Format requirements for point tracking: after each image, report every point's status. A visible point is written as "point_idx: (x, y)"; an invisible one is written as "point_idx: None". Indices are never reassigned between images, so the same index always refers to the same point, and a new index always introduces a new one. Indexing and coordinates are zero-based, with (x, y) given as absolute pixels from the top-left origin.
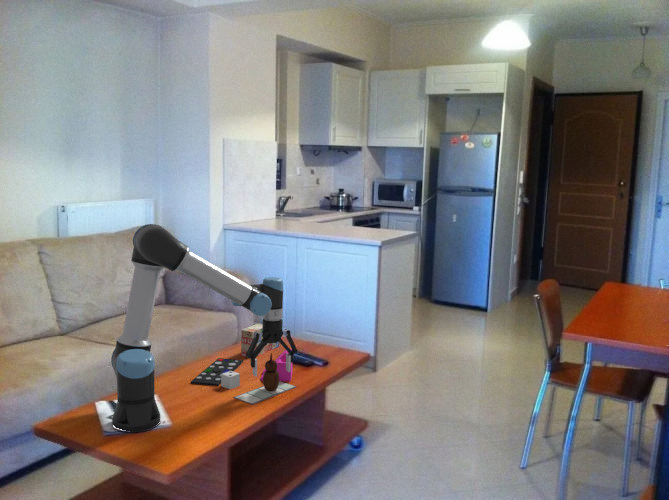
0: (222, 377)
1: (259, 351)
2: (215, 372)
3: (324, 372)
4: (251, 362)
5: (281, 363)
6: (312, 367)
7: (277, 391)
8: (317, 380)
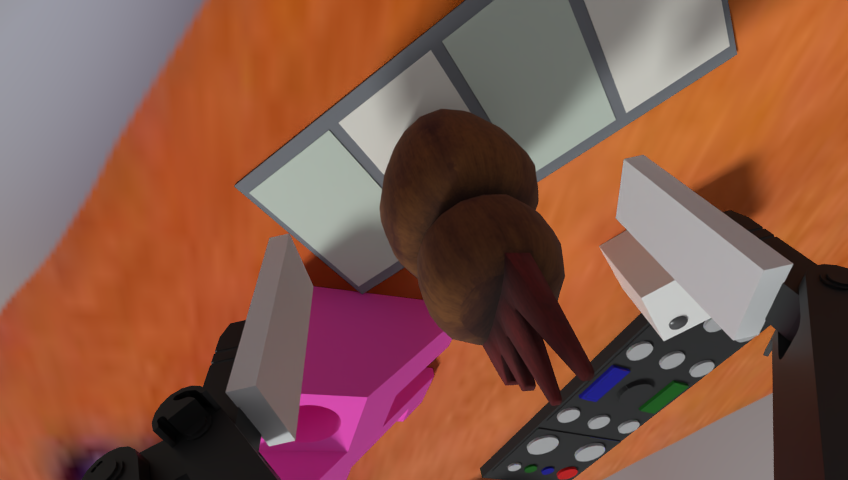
0: None
1: (842, 387)
2: (646, 380)
3: (55, 387)
4: (785, 254)
5: (340, 390)
6: (149, 437)
7: (397, 109)
8: (79, 283)
